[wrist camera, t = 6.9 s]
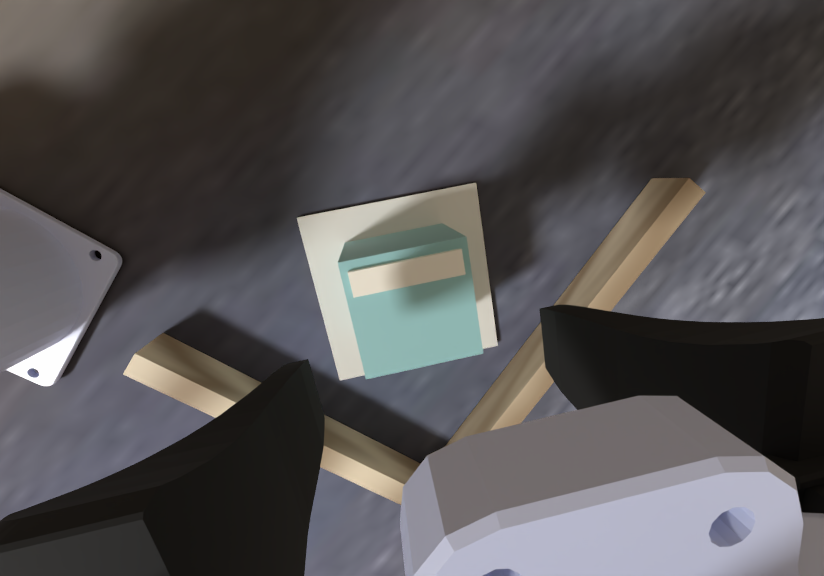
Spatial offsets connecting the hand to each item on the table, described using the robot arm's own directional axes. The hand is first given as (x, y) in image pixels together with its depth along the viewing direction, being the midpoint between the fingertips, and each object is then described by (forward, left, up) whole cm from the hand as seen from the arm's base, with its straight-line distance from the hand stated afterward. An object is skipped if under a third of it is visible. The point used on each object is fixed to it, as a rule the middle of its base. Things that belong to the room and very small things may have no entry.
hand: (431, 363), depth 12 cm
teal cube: (0, 0, -9) cm, 9 cm away
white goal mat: (0, 0, -9) cm, 9 cm away
